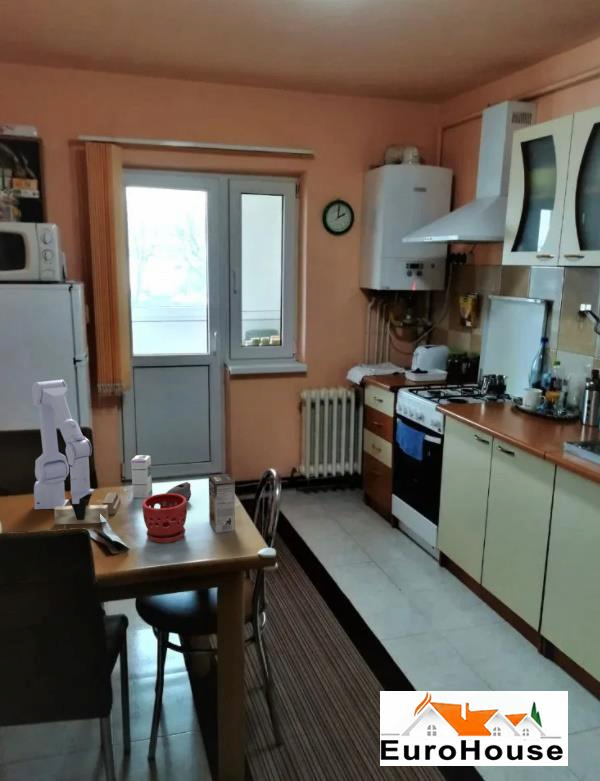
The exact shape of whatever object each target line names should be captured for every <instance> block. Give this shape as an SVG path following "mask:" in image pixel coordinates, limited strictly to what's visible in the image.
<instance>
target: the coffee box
mask: <svg viewBox="0 0 600 781" xmlns="http://www.w3.org/2000/svg"><path fill="white" fill-rule="evenodd" d="M235 484H236V483H235V481H234V479H232V478H231V476H230V475H228V473H226V474H213V475H211V474H210V475H208V503H209V504H208V507H209V508H208V509H209V510H208V512H209V514H208V515H209V516H208V517H209V524H210V526H211V528H212V529H213V531H214V532H215V533H216V534H217V533H218V534H219V533H220V534H221V533H227V532H234V531H235V525H236V524H235V519H236V518H235V517H236V516H235V514H236V512H235V511H236V504H235V503H236V502H235V499H236V498H235V497H236V496H235V495H236V492H235V490H236V488H235V486H236V485H235Z"/></svg>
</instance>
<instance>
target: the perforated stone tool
mask: <svg viewBox="0 0 600 781" xmlns="http://www.w3.org/2000/svg"><path fill="white" fill-rule="evenodd" d="M166 493H171V494H179V495H182V496H184V497H185V498H186V501H187V503H188V502H190V501H191V500H190V499H191V497H192V491H191V483H189V482H188V481H186V482H183V483H180V484H177V485H176V486H173V487H172V488H170V489H169V490H168V491H166V492H165V493H164V494H166ZM162 504H163V505H166V504H167V502H165V501H164V502H163V503H162ZM175 504H177V502H175ZM169 505H170V506H172V504H169Z"/></svg>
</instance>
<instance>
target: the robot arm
mask: <svg viewBox="0 0 600 781" xmlns="http://www.w3.org/2000/svg"><path fill="white" fill-rule="evenodd" d="M68 392H69V391H68V385H67V383H66V381H65V380H64V379H63V378H62V379H54V380H47V381H45V380H44V381H35V382H33V384H32V387H31V399H32V402H33V406H36V407H37V409H38V419H39V420H38V421H39V426H40V436H41V445H42V446H41V447H42V454H41V455H40V456H39V457H37V458H36V459H35V463H34V464H35V467H34V475H35V478H36V481H35V483H34V485H33V495H34V496H33V497H34V498H33V499H34V510H50V509H51V510H54V509H55V508H56V507H57V506H67V503H68V502H69V504H70V506H72V507H73V509H74V512H75V515H76V518H77V520H84V518H85V510H86V505H90V504H89V503H90V499H91V498H92V495H93V493H94V492H95V490H94V488H91V483H90V480H91V479H90V462H89V461H90V460H89V457H91V455H92V452H93V450H92V449H93V448H92V444H91V441H90V440H89V439H88V438H87V437H86V436H84V435H83V433H82V431H81V430H82V429H81V428H80V426H79V423H78V421H77V420H74V419H73V417H72V414H71V411H70V409H69V405H68V401H67V398H68ZM55 415H56V416H57V418H58V420H59V422H60V425H59V431H60V433H61V436H62V438H63V440H64V442H65V445H66V446H65V455H64V454H62V453H61V452H59V443H58V442H59V441H58V433H57V427H56V426H57V425H56V424H57V423H56V416H55ZM69 474H70V475H69ZM68 476H70V478H69V479H70V495H71V498H70V499H67V498H66V496H65V481H66V480H67V479H66V478H67V477H68Z"/></svg>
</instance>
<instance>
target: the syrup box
mask: <svg viewBox="0 0 600 781" xmlns="http://www.w3.org/2000/svg"><path fill="white" fill-rule="evenodd" d="M130 462H131V482H132V498H136V499H147V498H148V497H151V496H152V494H153V477H152V476H153V475H152V474H153V473H152V472H153V471H152V456H151V455H145V454H140V455H138V454H137V455H135V456H134V457H133V458H132V459H131V460H130Z"/></svg>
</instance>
